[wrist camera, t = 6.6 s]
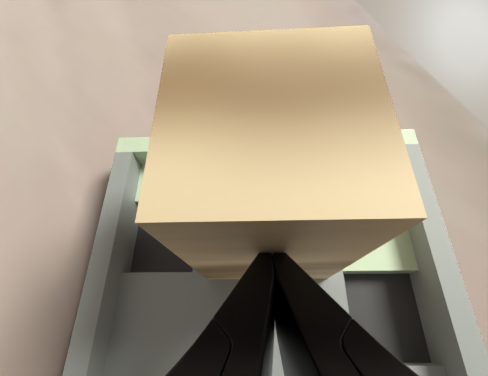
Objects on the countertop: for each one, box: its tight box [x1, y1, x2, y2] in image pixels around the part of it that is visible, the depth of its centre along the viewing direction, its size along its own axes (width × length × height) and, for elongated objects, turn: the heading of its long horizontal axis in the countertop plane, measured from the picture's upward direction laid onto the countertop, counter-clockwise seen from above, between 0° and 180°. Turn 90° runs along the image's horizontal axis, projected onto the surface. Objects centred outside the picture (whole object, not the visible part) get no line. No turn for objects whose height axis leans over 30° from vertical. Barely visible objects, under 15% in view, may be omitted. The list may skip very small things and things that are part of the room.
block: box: [135, 25, 427, 279], centre depth 11 cm, size 6×6×9 cm
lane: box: [62, 129, 488, 376], centre depth 13 cm, size 18×17×3 cm
